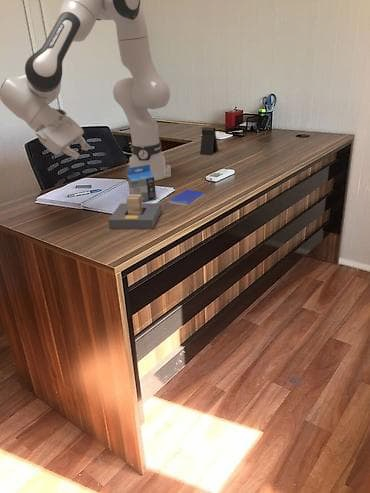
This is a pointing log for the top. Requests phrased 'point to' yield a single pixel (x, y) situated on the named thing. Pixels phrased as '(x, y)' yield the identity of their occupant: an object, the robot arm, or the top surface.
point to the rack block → (135, 217)
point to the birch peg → (134, 205)
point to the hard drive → (186, 197)
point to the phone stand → (208, 141)
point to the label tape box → (141, 182)
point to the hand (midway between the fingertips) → (83, 153)
